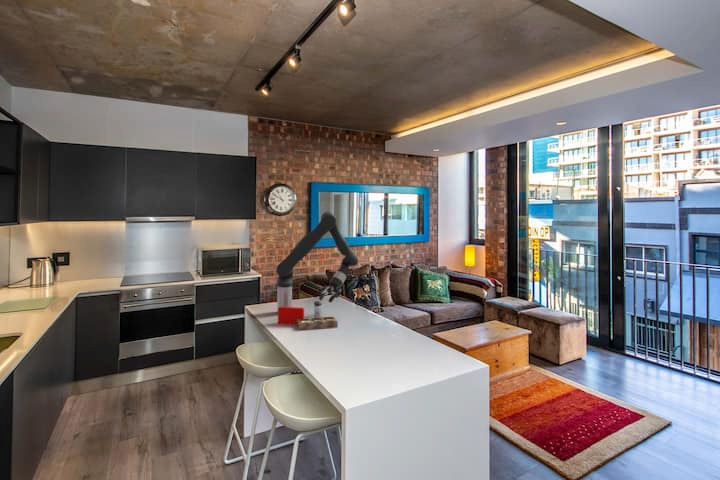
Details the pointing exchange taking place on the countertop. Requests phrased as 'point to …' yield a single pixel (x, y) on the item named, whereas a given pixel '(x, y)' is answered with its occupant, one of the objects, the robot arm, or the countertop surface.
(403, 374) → the countertop surface
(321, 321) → the socket bar
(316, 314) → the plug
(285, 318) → the play button
